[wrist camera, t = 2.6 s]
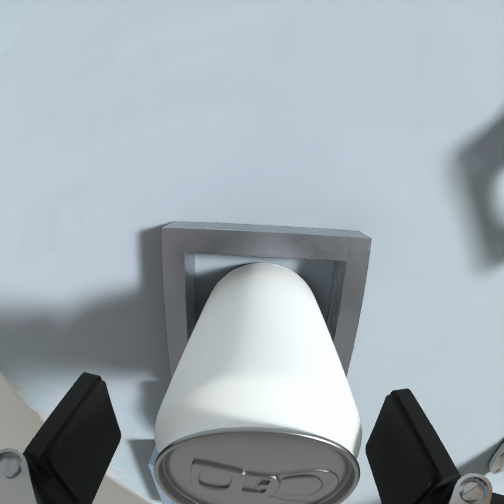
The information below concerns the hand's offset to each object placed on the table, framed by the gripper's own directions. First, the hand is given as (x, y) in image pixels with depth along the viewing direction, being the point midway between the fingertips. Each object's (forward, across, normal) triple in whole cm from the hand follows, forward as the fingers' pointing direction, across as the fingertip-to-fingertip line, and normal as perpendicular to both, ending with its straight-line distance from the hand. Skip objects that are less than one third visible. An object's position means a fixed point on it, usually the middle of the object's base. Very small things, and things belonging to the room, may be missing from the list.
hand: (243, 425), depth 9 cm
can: (+10, -1, 0) cm, 10 cm away
